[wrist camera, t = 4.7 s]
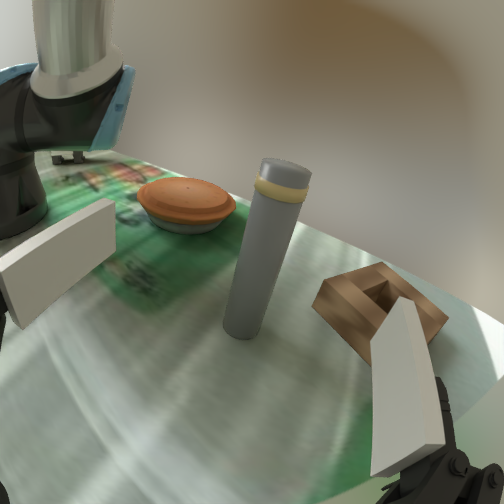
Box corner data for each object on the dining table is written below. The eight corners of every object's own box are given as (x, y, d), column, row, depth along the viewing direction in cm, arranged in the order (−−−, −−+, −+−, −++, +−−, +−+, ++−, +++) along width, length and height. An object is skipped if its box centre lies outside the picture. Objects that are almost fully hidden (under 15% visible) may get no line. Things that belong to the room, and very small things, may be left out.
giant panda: (47, 165, 52) (48, 127, 47) (52, 159, 56) (53, 123, 51) (102, 162, 59) (105, 124, 54) (103, 156, 63) (106, 121, 58)
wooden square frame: (311, 306, 32) (324, 279, 30) (370, 283, 40) (381, 261, 38) (388, 384, 24) (410, 360, 22) (433, 339, 31) (449, 317, 29)
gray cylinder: (215, 317, 28) (250, 156, 19) (246, 308, 30) (290, 159, 22) (234, 344, 25) (283, 174, 17) (267, 333, 27) (323, 177, 19)
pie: (251, 230, 45) (258, 202, 43) (165, 253, 35) (168, 218, 32) (196, 193, 54) (200, 169, 51) (122, 205, 43) (123, 177, 40)
